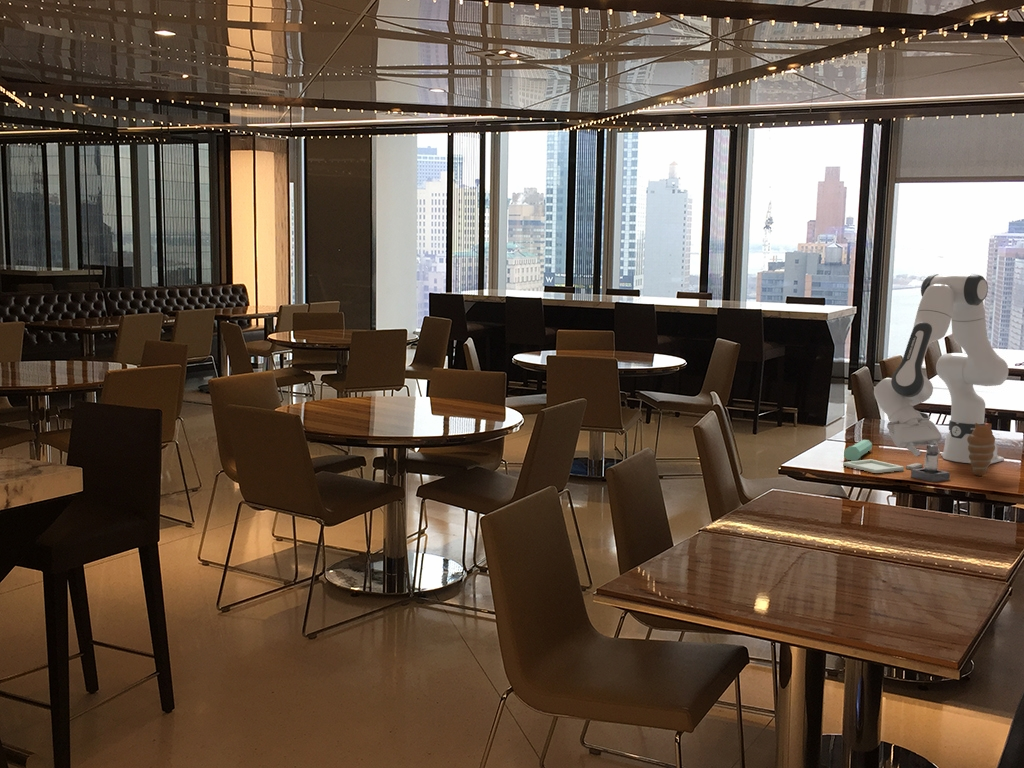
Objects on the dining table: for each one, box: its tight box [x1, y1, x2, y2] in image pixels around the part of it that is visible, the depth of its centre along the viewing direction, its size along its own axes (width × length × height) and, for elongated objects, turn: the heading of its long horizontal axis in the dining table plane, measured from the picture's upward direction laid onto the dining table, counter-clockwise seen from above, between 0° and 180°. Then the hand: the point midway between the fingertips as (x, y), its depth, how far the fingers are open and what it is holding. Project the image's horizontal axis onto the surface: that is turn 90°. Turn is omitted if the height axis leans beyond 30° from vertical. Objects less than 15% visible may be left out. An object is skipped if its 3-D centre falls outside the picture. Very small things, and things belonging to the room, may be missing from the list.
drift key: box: [905, 462, 924, 471], centre depth 338 cm, size 8×2×2 cm, turn 134°
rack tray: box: [842, 458, 905, 473], centre depth 334 cm, size 14×14×2 cm
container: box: [843, 439, 873, 461], centre depth 358 cm, size 6×6×25 cm
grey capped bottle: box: [923, 445, 939, 474], centre depth 320 cm, size 4×4×11 cm
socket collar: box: [910, 467, 951, 483], centre depth 320 cm, size 8×8×2 cm
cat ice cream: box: [967, 423, 996, 477], centre depth 326 cm, size 9×8×18 cm
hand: (928, 454), depth 321 cm, fingers open, 8 cm apart
